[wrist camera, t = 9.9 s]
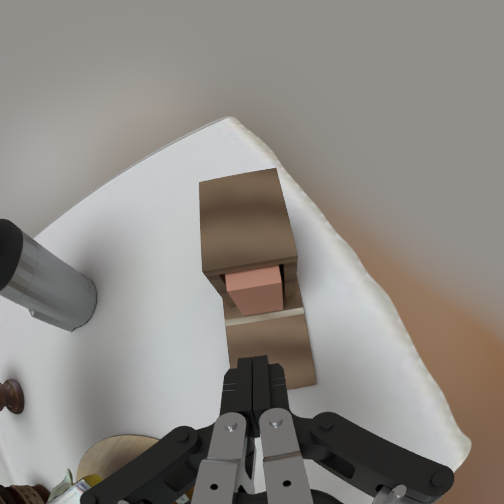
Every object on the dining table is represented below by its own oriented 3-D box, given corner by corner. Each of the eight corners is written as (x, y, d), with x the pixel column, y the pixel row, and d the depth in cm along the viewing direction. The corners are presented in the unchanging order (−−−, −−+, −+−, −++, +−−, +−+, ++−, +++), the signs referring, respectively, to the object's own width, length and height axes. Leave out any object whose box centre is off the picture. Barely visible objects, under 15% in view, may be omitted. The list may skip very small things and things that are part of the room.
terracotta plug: (283, 309, 33) (281, 282, 24) (243, 315, 34) (226, 291, 25) (276, 272, 36) (272, 234, 27) (239, 279, 36) (222, 243, 27)
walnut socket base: (315, 384, 30) (333, 388, 18) (235, 395, 31) (205, 405, 19) (286, 230, 40) (283, 166, 28) (219, 241, 41) (192, 183, 29)
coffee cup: (34, 471, 24) (-13, 474, 12) (62, 499, 22) (14, 510, 10) (31, 494, 21) (-11, 499, 9) (58, 521, 19) (15, 532, 7)
